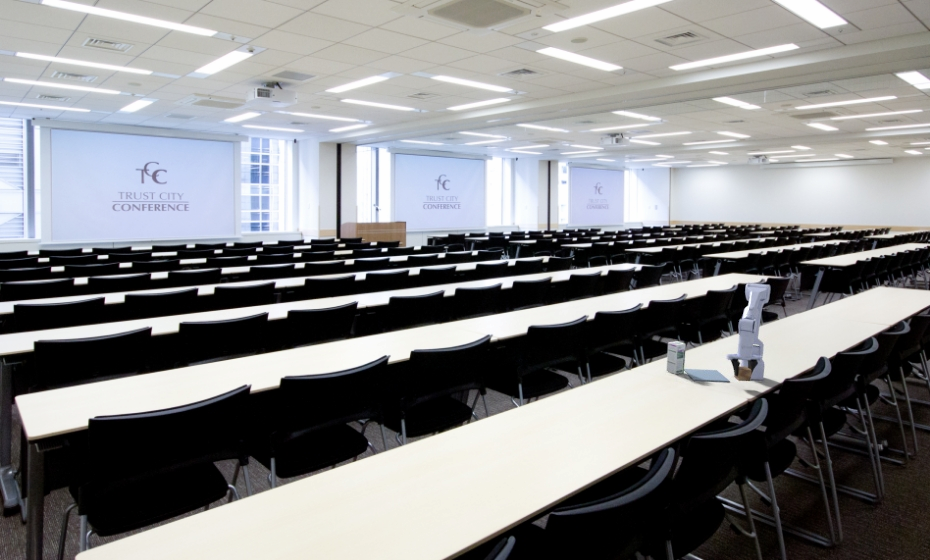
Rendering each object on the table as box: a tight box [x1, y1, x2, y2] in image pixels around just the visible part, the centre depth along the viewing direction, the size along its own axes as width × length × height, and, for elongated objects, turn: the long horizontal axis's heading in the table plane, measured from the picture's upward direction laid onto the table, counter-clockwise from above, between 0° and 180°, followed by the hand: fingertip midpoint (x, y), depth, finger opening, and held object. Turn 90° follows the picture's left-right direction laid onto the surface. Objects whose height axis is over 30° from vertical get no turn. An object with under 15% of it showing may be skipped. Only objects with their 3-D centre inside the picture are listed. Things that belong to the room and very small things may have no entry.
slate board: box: [684, 368, 731, 383], centre depth 274 cm, size 16×16×1 cm
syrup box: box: [666, 340, 687, 375], centre depth 278 cm, size 6×6×14 cm
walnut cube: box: [733, 365, 752, 382], centre depth 257 cm, size 5×5×5 cm
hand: (742, 375), depth 257 cm, fingers closed on walnut cube, 5 cm apart
